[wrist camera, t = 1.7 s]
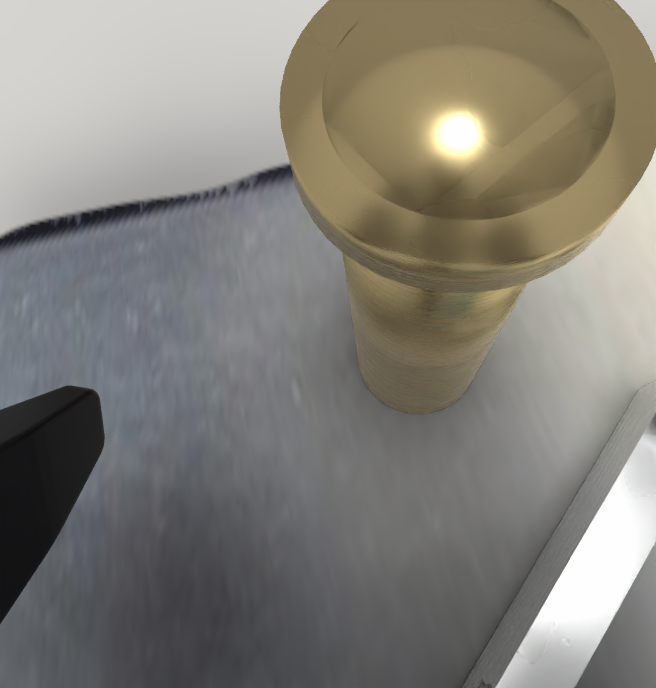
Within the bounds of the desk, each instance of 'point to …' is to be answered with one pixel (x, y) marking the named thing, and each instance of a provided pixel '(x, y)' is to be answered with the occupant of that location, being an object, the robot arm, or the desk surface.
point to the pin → (460, 164)
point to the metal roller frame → (581, 566)
